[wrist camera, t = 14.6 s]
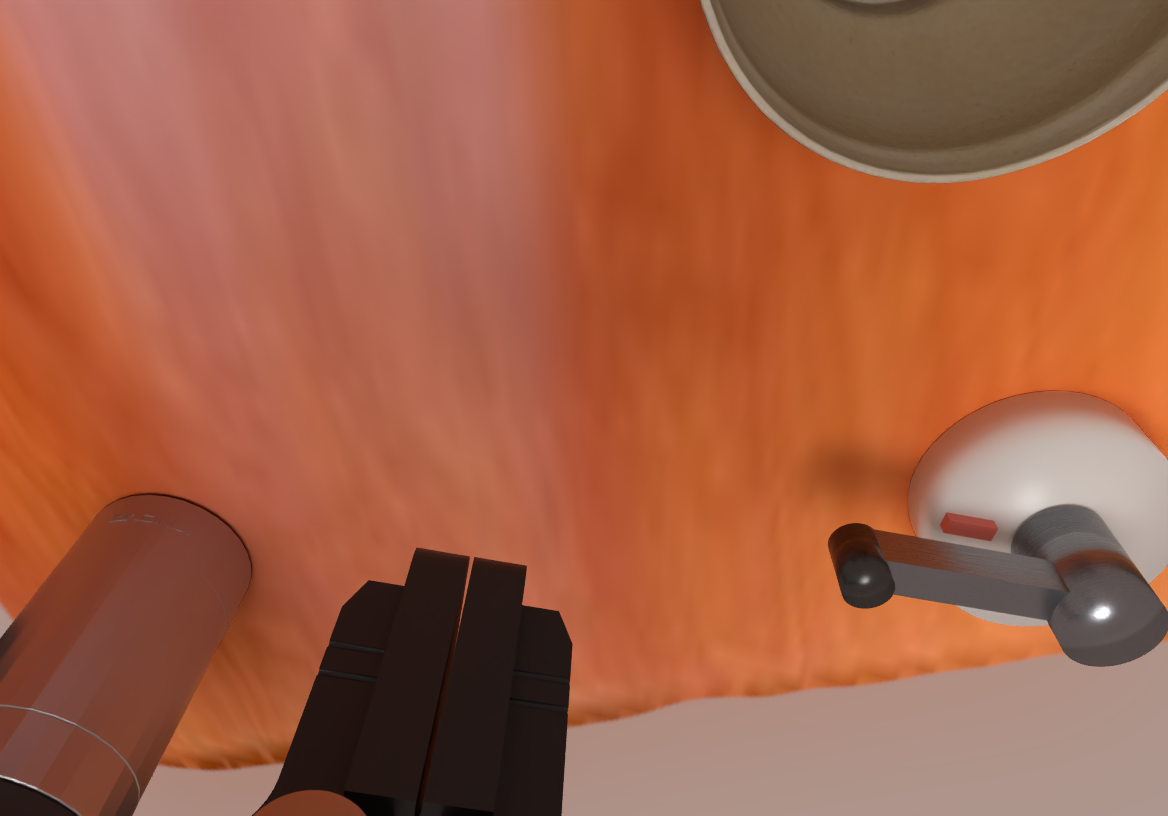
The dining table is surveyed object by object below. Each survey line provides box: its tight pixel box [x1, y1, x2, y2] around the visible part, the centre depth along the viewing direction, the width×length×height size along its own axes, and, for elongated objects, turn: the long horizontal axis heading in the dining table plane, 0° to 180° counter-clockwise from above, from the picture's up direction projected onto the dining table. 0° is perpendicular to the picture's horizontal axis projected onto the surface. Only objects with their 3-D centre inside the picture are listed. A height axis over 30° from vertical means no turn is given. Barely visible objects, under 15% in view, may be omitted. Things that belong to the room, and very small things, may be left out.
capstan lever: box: [828, 506, 1168, 667], centre depth 40 cm, size 14×4×6 cm, turn 79°
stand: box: [907, 391, 1168, 626], centre depth 44 cm, size 12×12×5 cm
